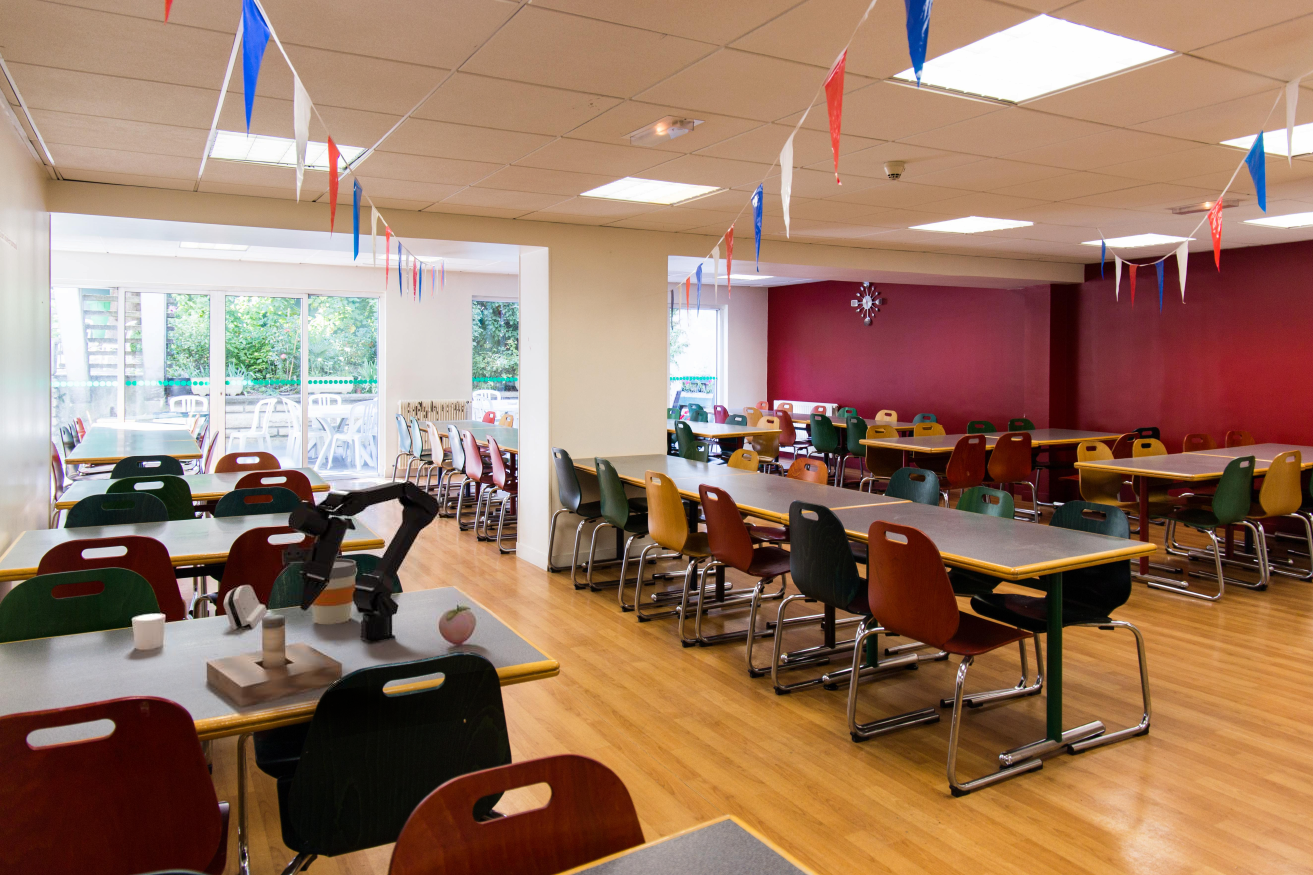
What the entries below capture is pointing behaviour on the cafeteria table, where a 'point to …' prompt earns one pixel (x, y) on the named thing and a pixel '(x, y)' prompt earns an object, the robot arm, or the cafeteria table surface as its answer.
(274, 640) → the beech pin
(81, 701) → the cafeteria table surface
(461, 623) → the decorative fruit
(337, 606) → the reusable coffee cup
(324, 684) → the socket block
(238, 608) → the hinge
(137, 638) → the white short cylinder
